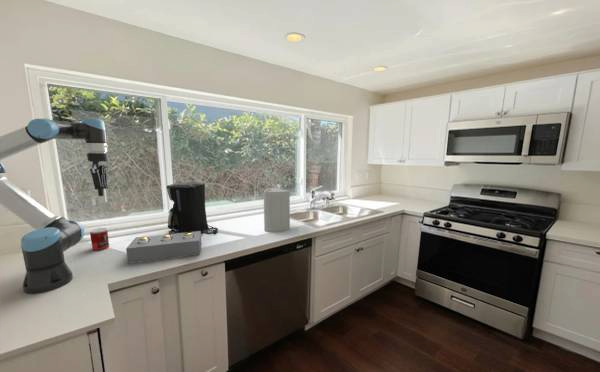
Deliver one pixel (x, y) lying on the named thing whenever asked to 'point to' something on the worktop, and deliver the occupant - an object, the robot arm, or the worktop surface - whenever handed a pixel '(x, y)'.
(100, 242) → the canned food
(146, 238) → the knob near
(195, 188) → the coffee maker
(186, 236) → the knob far
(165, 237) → the knob middle
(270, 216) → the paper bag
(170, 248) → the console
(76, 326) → the worktop surface
